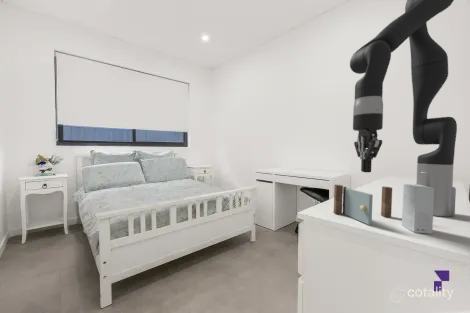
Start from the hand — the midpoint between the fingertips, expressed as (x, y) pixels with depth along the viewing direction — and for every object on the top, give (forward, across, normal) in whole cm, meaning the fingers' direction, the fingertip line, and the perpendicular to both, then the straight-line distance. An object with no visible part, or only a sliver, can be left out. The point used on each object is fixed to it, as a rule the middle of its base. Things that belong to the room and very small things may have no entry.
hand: (366, 172), depth 64 cm
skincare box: (+15, -5, -11) cm, 19 cm away
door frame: (+15, +6, -2) cm, 16 cm away
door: (+14, 0, +2) cm, 15 cm away
